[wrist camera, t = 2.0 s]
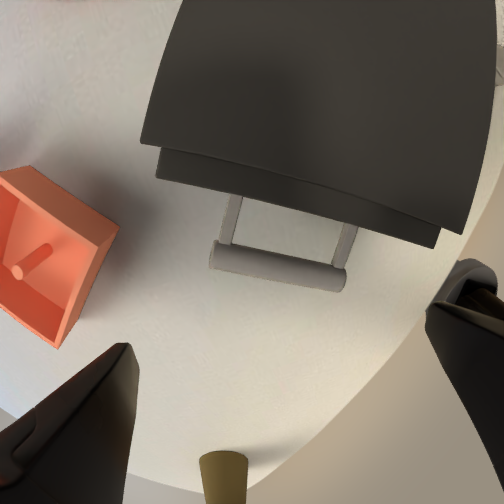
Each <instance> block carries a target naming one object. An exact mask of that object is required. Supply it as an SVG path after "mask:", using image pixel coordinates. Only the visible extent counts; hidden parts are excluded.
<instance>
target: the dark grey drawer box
mask: <svg viewBox="0 0 504 504" xmlns="http://www.w3.org/2000/svg"><path fill="white" fill-rule="evenodd" d="M496 59H497V24H496V6H495V0H183V2H182V4H181V7H180V9H179V12H178V14H177V17H176V19H175V22H174V25H173V27H172V30H171V33H170V36H169V39H168V41H167V44H166V47H165V50H164V53H163V56H162V60H161V63H160V66H159V69H158V72H157V76H156V79H155V83H154V86H153V90H152V93H151V97H150V101H149V104H148V108H147V112H146V116H145V120H144V125H143V129H142V133H141V138H140V143H141V144H146V145H152V146H158V147H163V148H168V149H174V150H179V151H184V152H189V153H194V154H199V155H203V156H208V157H213V158H217V159H222V160H226V161H230V162H235V163H239V164H243V165H247V166H251V167H255V168H259V169H263V170H267V171H271V172H275V173H278V174H282V175H286V176H290V177H293V178H297V179H300V180H304V181H307V182H311V183H314V184H318V185H321V186H324V187H328V188H331V189H334V190H337V191H341V192H344V193H347V194H350V195H353V196H356V197H359V198H362V199H365V200H368V201H371V202H374V203H377V204H380V205H383V206H386V207H389V208H392V209H394V210H397V211H400V212H403V213H406V214H408V215H411V216H414V217H416V218H419V219H422V220H424V221H427V222H429V223H432V224H434V225H437V226H440V227H442V228H445V229H447V230H449V231H452V232H454V233H457V234H459V235H462V233H463V230H464V227H465V224H466V221H467V218H468V215H469V212H470V209H471V205H472V202H473V198H474V195H475V191H476V188H477V184H478V180H479V176H480V172H481V168H482V164H483V159H484V154H485V150H486V145H487V139H488V134H489V128H490V122H491V115H492V108H493V99H494V90H495V78H496Z"/></svg>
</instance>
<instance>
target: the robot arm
mask: <svg viewBox="0 0 504 504" xmlns="http://www.w3.org/2000/svg"><path fill="white" fill-rule="evenodd" d="M496 290H497V288H496V287H495V286H493V285H489V284H486V283H482V282H479V281H475V280H472V279H467V280H466V281H465V283H464V285H463V287H462V289H461V292H460V294H459V296H458V298H457V300H456V302H455V304H454V305H453V304H450V303H447V302H444V301H438V302H434V303H432V304H431V305H430V306H429V310H428V314H427V318H426V323H425V331H426V334H427V336H428V338H429V340H430V342H431V344H432V346H433V348H434V350H435V352H436V354H437V357H438V359H439V361H440V363H441V365H442V367H443V369H444V371H445V373H446V374H447V376H448V378H449V379H450V381H451V383H452V385H453V387H454V388H455V390H456V392H457V394H458V396H459V397H460V399H461V401H462V403H463V405H464V407H465V409H466V410H467V412H468V414H469V416H470V418H471V420H472V422H473V424H474V426H475V428H476V430H477V432H478V434H479V436H480V438H481V440H482V442H483V444H484V446H485V448H486V451H487V453H488V455H489V457H490V460H491V462H492V464H493V467H494V469H495V472H496V474H497V476H498V479H499V481H500V484H501V486H502V489H503V491H504V302H503V301H502V300H500V299H499V298H498V297H496V296H495V293H496ZM138 383H139V365H138V362H137V359H136V356H135V354H134V351H133V348H132V346H131V344H129V343H116V344H114V345H113V346H112V347H110V348H109V349H108V350H107V351H105V352H104V353H103V354H101V355H100V356H99V357H97V358H96V359H95V360H94V361H92V362H91V363H90V364H88V365H87V366H86V367H85V368H83V369H82V370H81V371H79V372H78V373H77V374H76V375H74V376H73V377H72V378H70V379H69V380H68V381H67V382H65V383H64V384H63V385H61V386H60V387H59V388H58V389H56V390H55V391H54V392H52V393H51V394H50V395H49V396H47V397H46V398H45V399H44V400H42V401H41V402H40V403H38V404H37V405H36V406H35V408H32V409H31V410H30V411H28V412H27V413H26V414H24V415H23V416H22V417H21V418H19V419H18V420H17V421H15V422H14V423H13V424H11V425H10V426H8V427H7V428H5V429H4V430H3V431H1V432H0V504H122V501H123V494H124V485H125V479H126V472H127V465H128V459H129V453H130V447H131V441H132V435H133V430H134V424H135V418H136V409H137V395H138Z"/></svg>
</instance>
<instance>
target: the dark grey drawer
mask: <svg viewBox="0 0 504 504" xmlns="http://www.w3.org/2000/svg"><path fill="white" fill-rule="evenodd" d="M155 176H156V178H158V179H163V180H168V181H173V182H178V183H183V184H188V185H193V186H197V187H202V188H207V189H211V190H216V191H220V192H225V193H229V198H228V202H227V206H226V210H225V214H224V218H223V223H222V227H221V231H220V235H219V240H215V241H214V242H213V246H212V251H211V255H210V261H209V268H212V269H216V270H221V271H226V272H231V273H236V274H241V275H246V276H251V277H256V278H262V279H267V280H272V281H277V282H282V283H288V284H293V285H298V286H304V287H309V288H314V289H320V290H325V291H331V292H336V293H338V292H341V291H342V290H343V288H344V286H345V283H346V277H347V275H346V270H345V269H344V267H345V264H346V262H347V259H348V256H349V253H350V250H351V248H352V245H353V242H354V239H355V236H356V233H357V230H358V227H361V228H365V229H368V230H372V231H375V232H378V233H382V234H385V235H388V236H392V237H395V238H398V239H401V240H405V241H408V242H411V243H414V244H417V245H421V246H424V247H427V248H430V249H434V247H435V244H436V241H437V239H438V236H439V233H440V230H441V227H440V226H437V225H434V224H432V223H429V222H427V221H424V220H422V219H419V218H416V217H414V216H411V215H408V214H406V213H403V212H400V211H397V210H394V209H392V208H389V207H386V206H383V205H380V204H377V203H374V202H371V201H368V200H365V199H362V198H359V197H356V196H353V195H350V194H347V193H344V192H341V191H337V190H334V189H331V188H328V187H324V186H321V185H318V184H314V183H311V182H307V181H304V180H300V179H297V178H293V177H290V176H286V175H282V174H278V173H275V172H271V171H267V170H263V169H259V168H255V167H251V166H247V165H243V164H239V163H235V162H230V161H226V160H222V159H217V158H213V157H208V156H203V155H199V154H194V153H189V152H184V151H179V150H174V149H168V148H163V147H162V148H161V151H160V156H159V160H158V165H157V170H156V175H155ZM243 197H246V198H251V199H255V200H259V201H263V202H267V203H271V204H275V205H279V206H283V207H287V208H291V209H295V210H299V211H303V212H307V213H311V214H314V215H318V216H322V217H325V218H329V219H333V220H336V221H340V222H344V223H345V224H344V227H343V230H342V233H341V236H340V239H339V242H338V245H337V247H336V250H335V253H334V256H333V259H332V262H331V264H332V265H330V264H326V263H321V262H316V261H312V260H307V259H303V258H298V257H293V256H289V255H284V254H279V253H275V252H270V251H265V250H261V249H256V248H251V247H247V246H242V245H237V244H233V243H232V239H233V235H234V231H235V227H236V223H237V219H238V215H239V211H240V207H241V203H242V199H243Z"/></svg>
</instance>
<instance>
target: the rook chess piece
mask: <svg viewBox="0 0 504 504" xmlns="http://www.w3.org/2000/svg"><path fill="white" fill-rule="evenodd" d="M498 85H504V47H502V46H500V45H497V59H496V78H495V86H498Z"/></svg>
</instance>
